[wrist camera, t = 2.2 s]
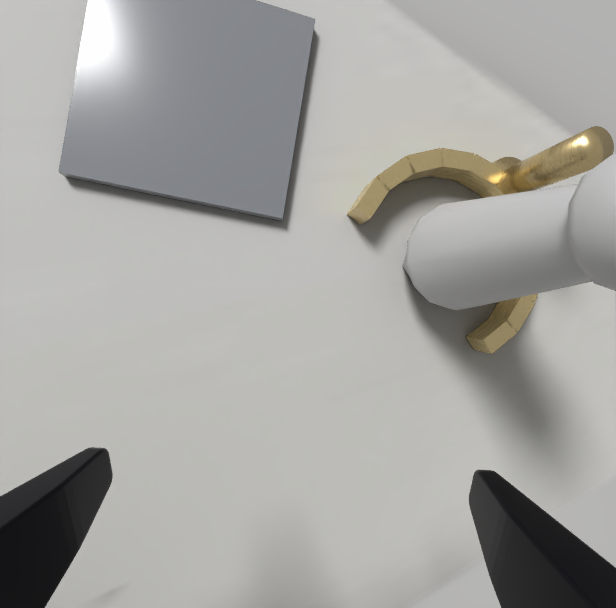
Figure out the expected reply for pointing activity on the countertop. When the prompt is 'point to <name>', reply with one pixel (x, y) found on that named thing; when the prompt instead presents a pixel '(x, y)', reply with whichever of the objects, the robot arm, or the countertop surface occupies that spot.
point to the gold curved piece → (487, 183)
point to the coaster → (189, 100)
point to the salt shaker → (517, 243)
